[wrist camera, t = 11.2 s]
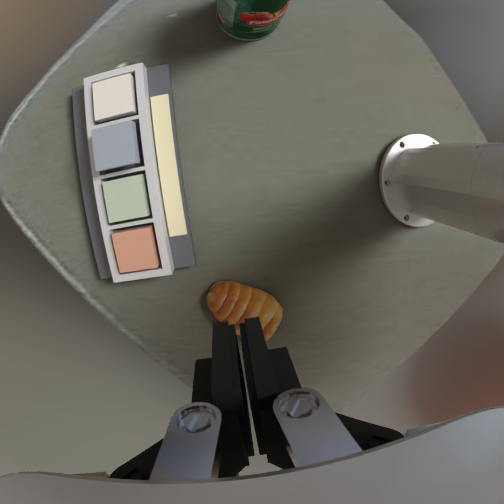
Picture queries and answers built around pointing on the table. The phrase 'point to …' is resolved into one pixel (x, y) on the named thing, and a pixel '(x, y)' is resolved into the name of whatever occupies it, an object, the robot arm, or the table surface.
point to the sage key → (126, 198)
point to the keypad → (137, 173)
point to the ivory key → (114, 98)
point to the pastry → (244, 306)
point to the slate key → (115, 146)
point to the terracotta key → (136, 248)
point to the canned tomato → (250, 17)
